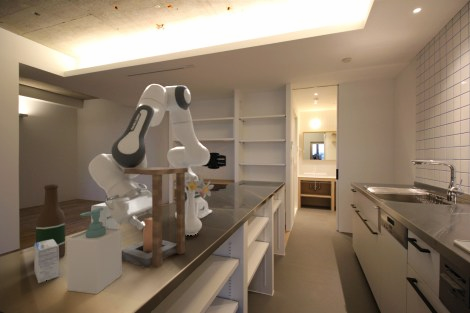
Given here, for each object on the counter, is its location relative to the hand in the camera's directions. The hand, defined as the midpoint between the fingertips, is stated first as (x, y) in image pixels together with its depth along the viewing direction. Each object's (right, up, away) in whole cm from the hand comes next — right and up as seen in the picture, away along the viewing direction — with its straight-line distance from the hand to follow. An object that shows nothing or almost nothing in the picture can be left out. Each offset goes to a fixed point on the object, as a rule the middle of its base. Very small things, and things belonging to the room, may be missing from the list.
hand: (151, 223), depth 72 cm
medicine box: (-24, -11, -12) cm, 29 cm away
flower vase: (+10, -11, +21) cm, 25 cm away
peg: (-1, -10, 0) cm, 11 cm away
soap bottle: (-8, -11, -16) cm, 21 cm away
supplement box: (-29, -11, +22) cm, 37 cm away
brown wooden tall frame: (+1, -10, 0) cm, 11 cm away
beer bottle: (-32, -11, -2) cm, 34 cm away
